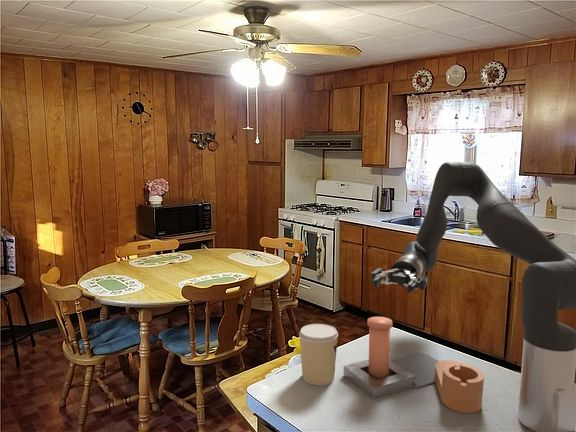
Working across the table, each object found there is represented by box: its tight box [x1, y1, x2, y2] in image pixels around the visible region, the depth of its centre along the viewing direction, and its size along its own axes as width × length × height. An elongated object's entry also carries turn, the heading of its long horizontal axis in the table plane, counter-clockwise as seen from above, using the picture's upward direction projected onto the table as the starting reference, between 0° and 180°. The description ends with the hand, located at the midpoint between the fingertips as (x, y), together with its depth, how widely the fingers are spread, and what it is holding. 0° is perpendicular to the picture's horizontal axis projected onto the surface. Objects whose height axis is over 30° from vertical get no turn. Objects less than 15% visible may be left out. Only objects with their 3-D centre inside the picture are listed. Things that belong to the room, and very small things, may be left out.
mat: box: [389, 351, 440, 389], centre depth 115 cm, size 14×14×1 cm
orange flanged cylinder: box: [366, 316, 393, 380], centre depth 108 cm, size 6×6×15 cm
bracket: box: [435, 359, 485, 414], centre depth 104 cm, size 18×8×7 cm, turn 170°
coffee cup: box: [298, 323, 339, 386], centre depth 110 cm, size 9×9×12 cm
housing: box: [343, 359, 415, 399], centre depth 109 cm, size 12×12×2 cm
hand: (392, 286), depth 116 cm, fingers open, 8 cm apart
